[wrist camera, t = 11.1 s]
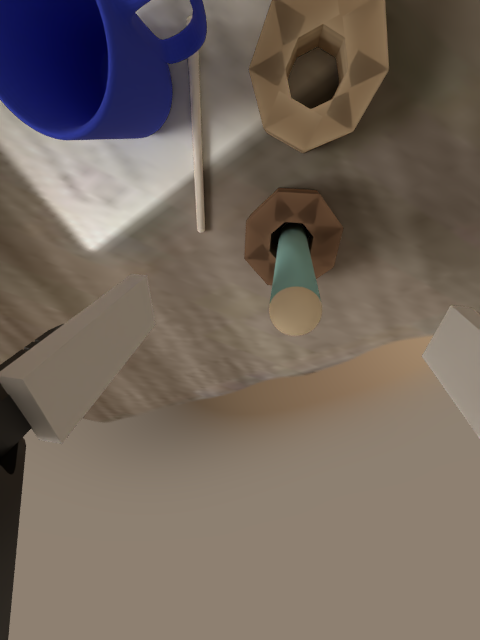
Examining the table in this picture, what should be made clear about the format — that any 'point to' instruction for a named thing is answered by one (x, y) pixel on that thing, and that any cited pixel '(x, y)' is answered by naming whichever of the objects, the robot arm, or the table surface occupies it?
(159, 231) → the table surface
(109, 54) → the mug
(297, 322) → the teal rod
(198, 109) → the thin beige rod
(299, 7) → the maple bead
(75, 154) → the table surface
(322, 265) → the walnut bead
